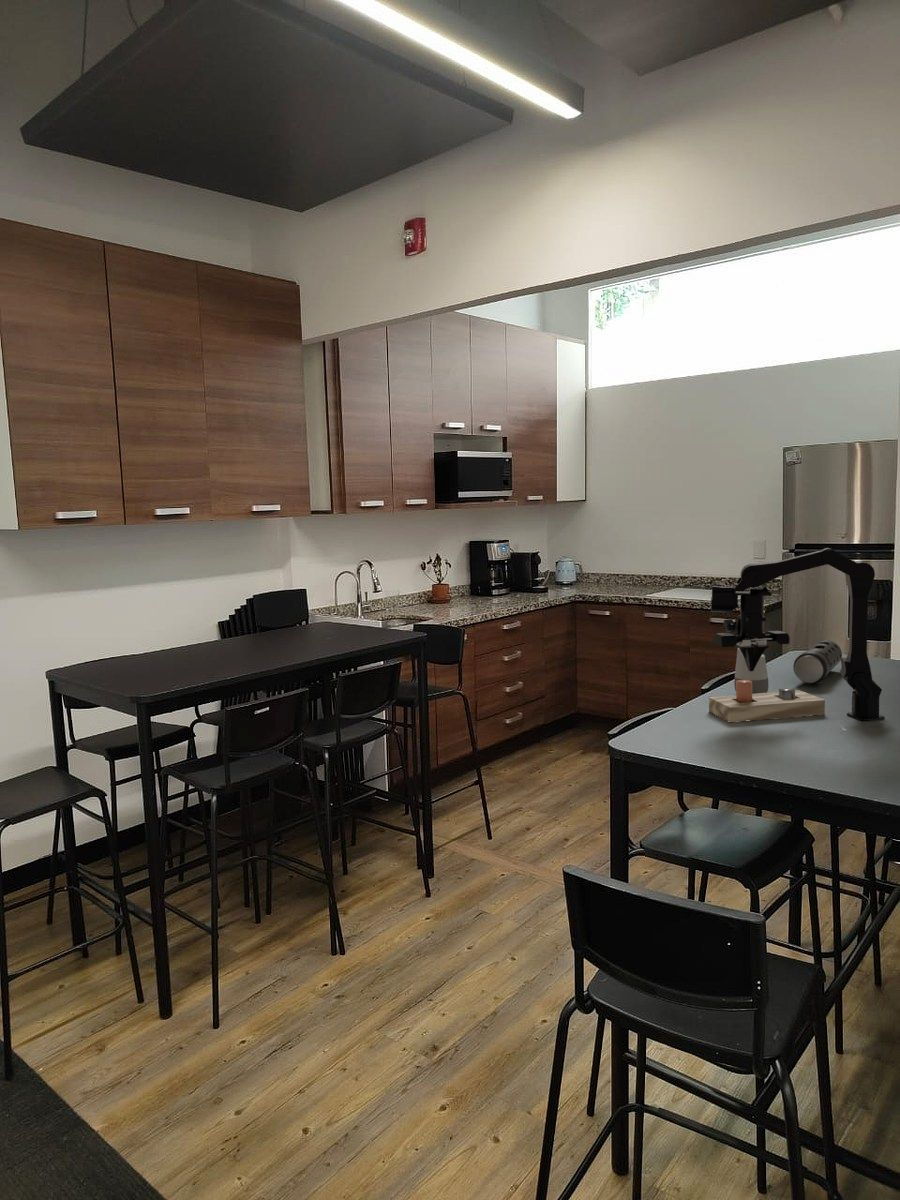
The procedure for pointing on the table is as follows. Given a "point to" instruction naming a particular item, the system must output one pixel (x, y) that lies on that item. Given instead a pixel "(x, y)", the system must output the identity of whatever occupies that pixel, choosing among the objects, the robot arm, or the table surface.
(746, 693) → the red button
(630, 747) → the table surface
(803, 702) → the button panel
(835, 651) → the muzzle brake
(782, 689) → the grey button
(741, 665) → the smart speaker
